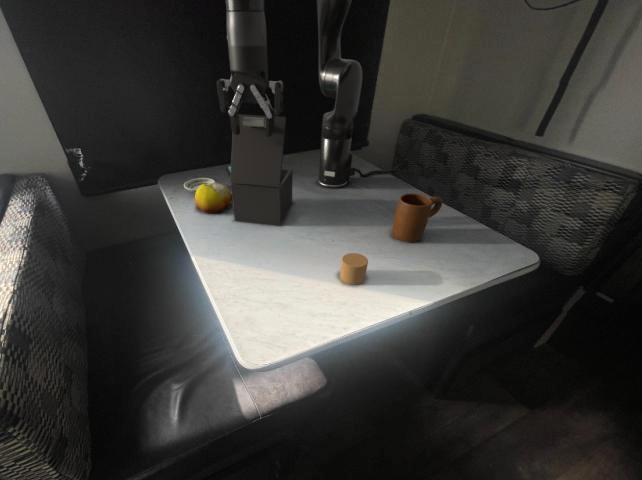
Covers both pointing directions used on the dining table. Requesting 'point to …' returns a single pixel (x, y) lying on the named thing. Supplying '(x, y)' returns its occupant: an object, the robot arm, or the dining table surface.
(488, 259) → the dining table surface
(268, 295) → the dining table surface
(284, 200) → the dark gray cube box
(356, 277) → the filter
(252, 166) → the lid
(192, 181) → the saucer
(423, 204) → the mug
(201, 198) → the fruit
